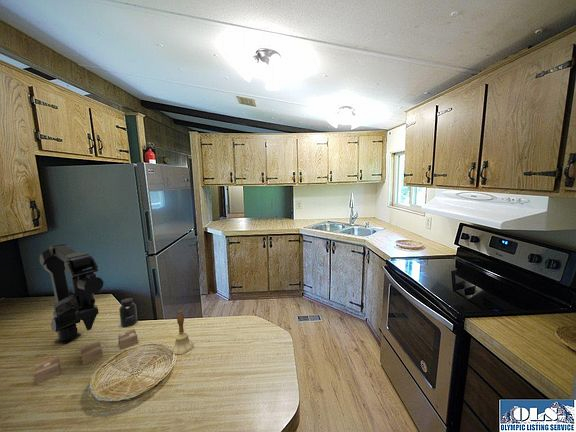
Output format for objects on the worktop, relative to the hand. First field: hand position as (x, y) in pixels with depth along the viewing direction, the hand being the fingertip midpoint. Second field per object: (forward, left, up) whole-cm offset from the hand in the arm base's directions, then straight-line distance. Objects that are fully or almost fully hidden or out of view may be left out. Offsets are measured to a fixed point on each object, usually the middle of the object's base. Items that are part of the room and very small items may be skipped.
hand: (88, 325), depth 94 cm
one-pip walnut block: (-8, -10, -13) cm, 18 cm away
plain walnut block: (0, 0, -13) cm, 13 cm away
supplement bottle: (-4, +23, -13) cm, 27 cm away
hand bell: (+33, +9, -13) cm, 37 cm away
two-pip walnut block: (+8, +9, -13) cm, 18 cm away
